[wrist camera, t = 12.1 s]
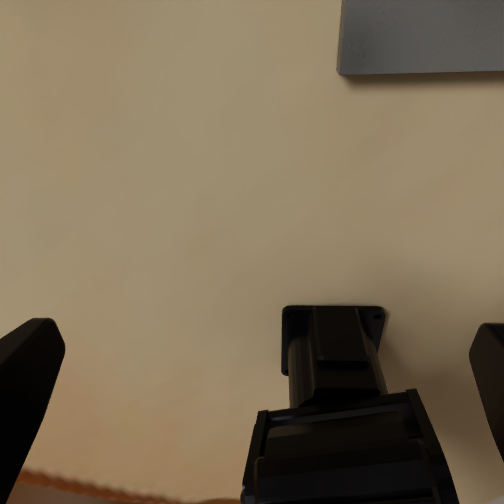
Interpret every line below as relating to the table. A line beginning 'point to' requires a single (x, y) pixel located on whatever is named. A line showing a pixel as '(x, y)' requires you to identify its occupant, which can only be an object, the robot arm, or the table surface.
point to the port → (420, 36)
